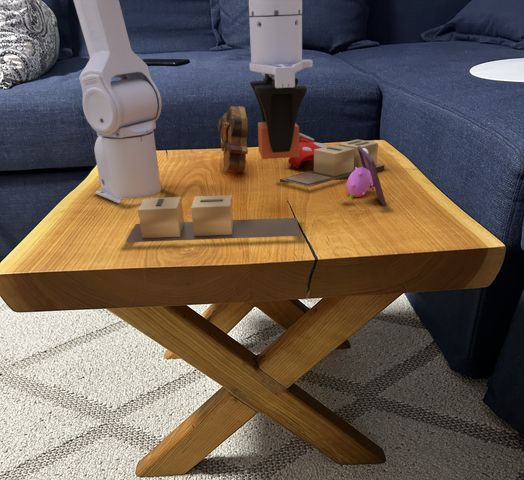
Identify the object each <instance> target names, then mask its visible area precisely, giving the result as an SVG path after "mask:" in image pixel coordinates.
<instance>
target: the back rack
mask: <svg viewBox="0 0 524 480" xmlns="http://www.w3.org/2000/svg"><path fill="white" fill-rule="evenodd" d="M358 146H360V147H361V148H365V149H367V150H368V155H369V156H370V157H371V158H372V159H373V160H374V163H375V167H376V170H377V173H379V172H382V171H385V164H381V163H378V162H377V161H378V150H379V149H378V148H379V142H375V141H369V140H363V139H353V140H349V141H345V142H340V143H338V145H336V144H332V145H328V146H327V147H323V148H319V149H315V150H314V160H313V170H308V171H305V172H301V173H296V174H294V175H290V176H287V177H286V176H285V177H283V178H279V183H293V184H295V185H301V186H304V187H307V188H311V187H313V186H318V185H320V184H324V183H328V182H331V181H346V180H348V178H349V176H350V175H351V174H352V172H353V171H354V170H355V167H357V168H359V167H362V166H363V165H362V162H361V159H360V155H359V152H358V148H357V147H358ZM365 160H366V159H365ZM365 160H364V161H365ZM366 162H367V160H366ZM366 162H365V165H366ZM367 165H368V163H367ZM367 165H366V168H367V169H368V167H369V166H368V167H367Z"/></svg>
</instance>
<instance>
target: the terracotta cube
mask: <svg viewBox="0 0 524 480" xmlns="http://www.w3.org/2000/svg"><path fill="white" fill-rule="evenodd" d="M299 133H300V126H299V125H298V124H297V122H295V128H294V134H293V140H292V145H291V149H290V151H289V152H272V149H271V146H270V142H269V137H268V131H267V125H266V122H263V121H258V122H257V137H258V138H257V139H258V140H257V141H258V153H259V155H260V157H261V159H262V160H270V159H271V160H272V159H286V158H288V159H289V158H290V157H299Z"/></svg>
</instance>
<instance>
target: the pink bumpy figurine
mask: <svg viewBox="0 0 524 480" xmlns="http://www.w3.org/2000/svg"><path fill="white" fill-rule="evenodd" d="M357 148H358V152H359V155H360V159H361V162H362V165H363V166H362V167H359V168H357V167H355V170H354V171H353V172H352V174H351V175H350V176H349V178H348V180H347V181H346V185H345V186H346V191H347V193H348V194H349V196H348V199H349V200H353V199H354V198H361V197H363V196H365V194H366V193H367V192H368V190H369V189H371V188H372V190H373V191H375V194H376V197H377V199H378V201H379V203H381V205H382V206H383V207H386V206H387V202H386V198H385V195H384V192H383V189H382V185H381V181H380V178H379V173H378V172H377V170H376V167H375V163H374V160H373V159H372V158H371V157H370V156H369V155H368V150H367V149H365V148H361V147H360V146H358V147H357ZM365 159H366V160H367V162H366V160H365ZM364 160H365V161H364ZM365 162H366V165H367V163H368V165H367V167H368V166H369V167H368V169H367V168H366V165H365Z"/></svg>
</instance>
